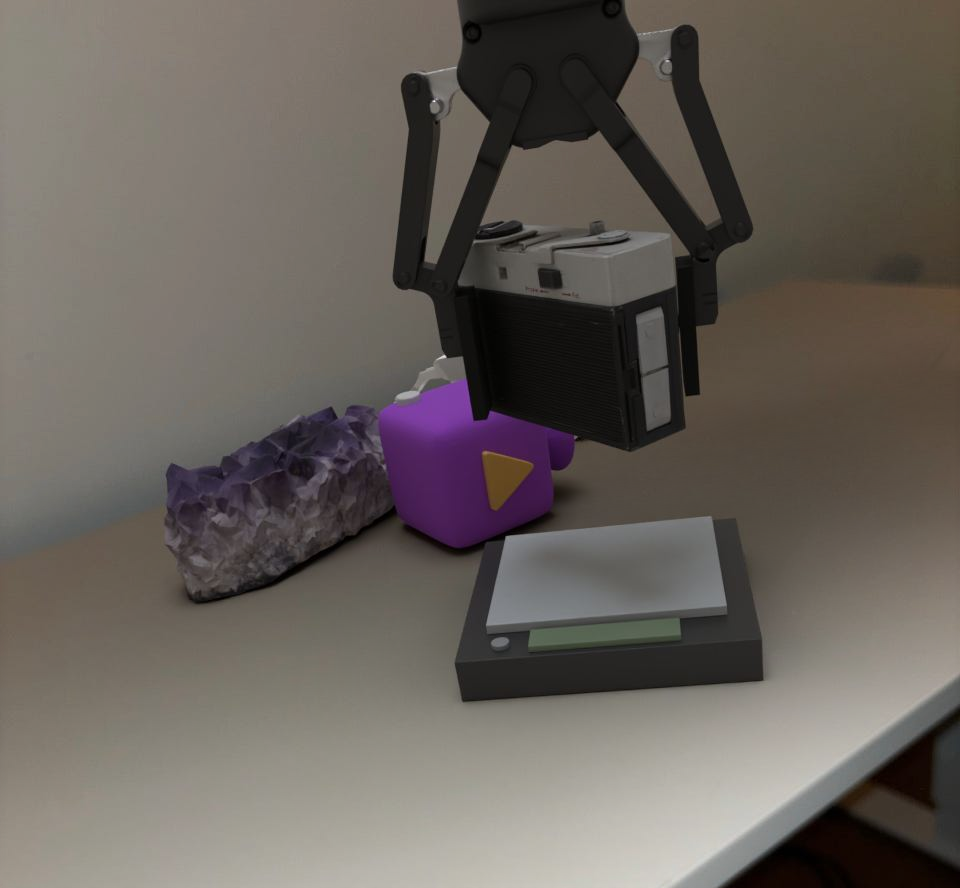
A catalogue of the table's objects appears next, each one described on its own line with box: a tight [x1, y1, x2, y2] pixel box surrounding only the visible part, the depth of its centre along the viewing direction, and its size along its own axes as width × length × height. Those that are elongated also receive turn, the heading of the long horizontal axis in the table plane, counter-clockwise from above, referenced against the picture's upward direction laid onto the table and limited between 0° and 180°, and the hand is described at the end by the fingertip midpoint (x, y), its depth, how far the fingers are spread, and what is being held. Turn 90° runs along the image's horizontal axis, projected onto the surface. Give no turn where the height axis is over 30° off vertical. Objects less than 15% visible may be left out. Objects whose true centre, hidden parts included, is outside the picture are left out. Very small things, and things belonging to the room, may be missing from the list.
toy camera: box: [378, 379, 576, 549], centre depth 77 cm, size 11×14×10 cm
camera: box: [458, 219, 687, 453], centre depth 55 cm, size 14×9×10 cm, turn 26°
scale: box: [454, 515, 764, 702], centre depth 62 cm, size 16×15×3 cm
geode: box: [163, 404, 395, 602], centre depth 79 cm, size 20×12×10 cm, turn 146°
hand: (585, 400), depth 57 cm, fingers closed on camera, 10 cm apart
